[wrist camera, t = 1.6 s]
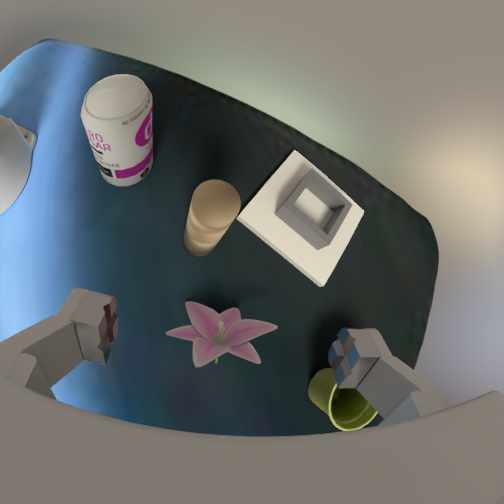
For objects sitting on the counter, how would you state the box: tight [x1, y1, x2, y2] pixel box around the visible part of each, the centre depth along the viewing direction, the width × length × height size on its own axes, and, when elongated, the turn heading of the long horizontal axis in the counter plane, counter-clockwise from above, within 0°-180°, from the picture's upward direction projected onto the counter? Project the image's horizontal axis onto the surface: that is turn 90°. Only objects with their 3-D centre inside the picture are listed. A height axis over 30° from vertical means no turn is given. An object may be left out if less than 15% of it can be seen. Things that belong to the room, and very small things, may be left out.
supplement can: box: [81, 74, 153, 186], centre depth 30 cm, size 8×8×15 cm
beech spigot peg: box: [183, 180, 241, 257], centre depth 31 cm, size 4×4×14 cm
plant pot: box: [308, 368, 377, 431], centre depth 34 cm, size 9×9×9 cm
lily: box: [166, 301, 277, 367], centre depth 32 cm, size 12×12×10 cm
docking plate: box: [236, 150, 364, 287], centre depth 41 cm, size 16×16×5 cm
